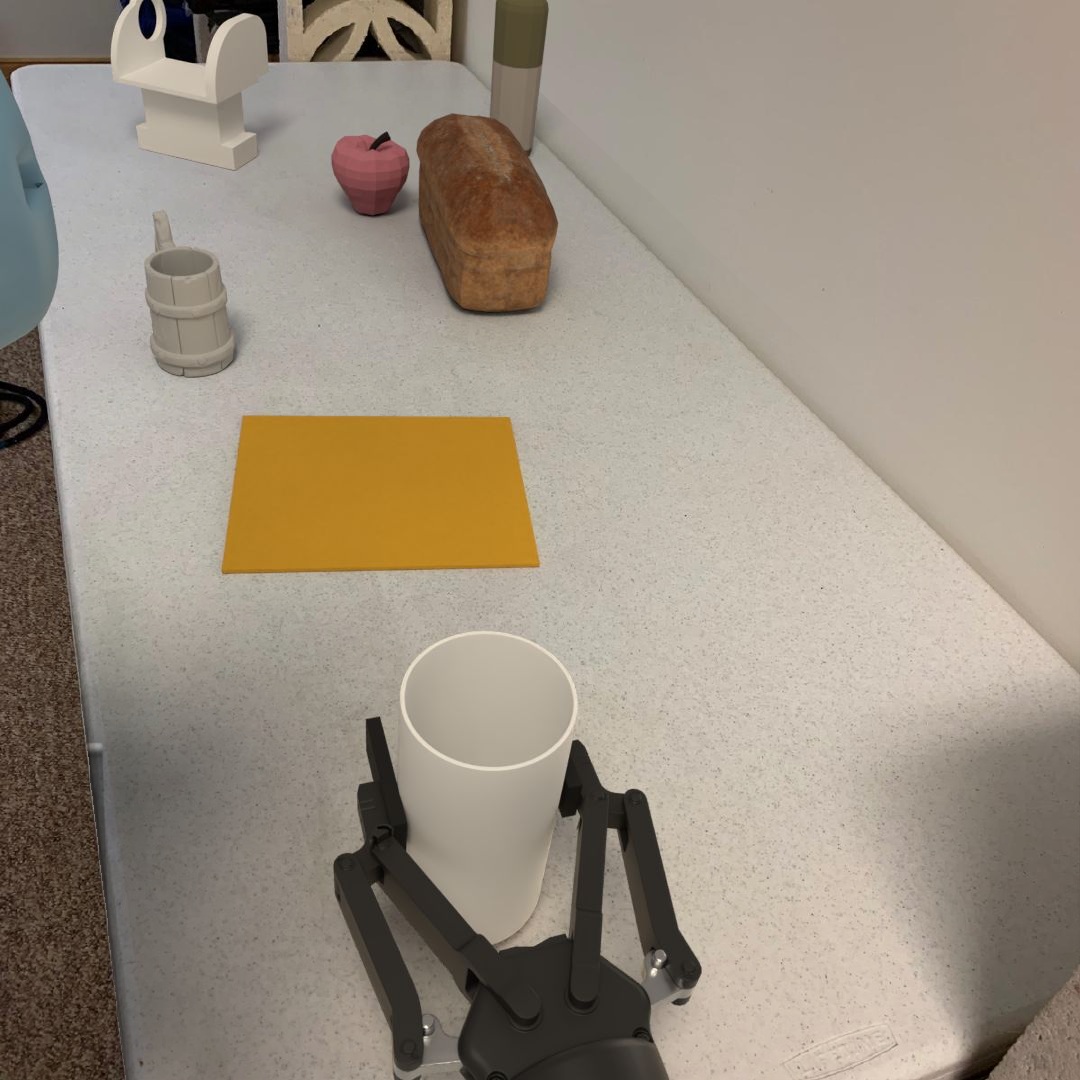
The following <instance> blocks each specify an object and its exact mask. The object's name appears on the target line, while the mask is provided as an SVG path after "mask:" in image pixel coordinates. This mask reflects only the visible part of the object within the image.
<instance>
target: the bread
mask: <svg viewBox="0 0 1080 1080" xmlns="http://www.w3.org/2000/svg"><path fill="white" fill-rule="evenodd" d="M415 151H416V155H417V158H418V160H419V169H418V217H419V220H420V224H421V225H422V227H423V230H424V232H425V235H426V237H427V240H428V243H429V246H430V249H431V251H432V254H433V256H434V258H435V261H436V262H437V264H438V266H439V269H440V273H441V275H442V279H443V282H444V285H445V288H446V290H447V291H448V293H449V295H450V296H451V298H452V299H453V300H454V301H455V302H456V303H457V304H458V305H459V306H460V307H461V308H462V309H463V310H464V309H465V310H470V311H478V312H497V313H498V312H515V311H522V310H528V309H534V308H536V307H538V306H539V305H540V304H542V303H543V301H544V300H545V299H546V295H547V291H548V287H549V286H548V285H549V277H550V273H551V265H552V252H553V251H552V250H553V248H554V245H555V242H556V238H557V234H558V227H559V221H558V217H557V214H556V209H555V208H554V206H553V203H552V201H551V198H550V197H549V195H548V192H547V189H546V186H545V184H544V183H543V180H542V179H541V176H540V175H539V173H538V172H537V170H536V168H535V166H534V164H533V162H532V161H531V159H530V157H529V154H528V155H527V154H526V152H525V151H524V149H523V147H522V146H521V144H520V142H519V141H518V140H517V139H516V137H515V136H514V134H513V133H512V132H511V130H510V129H509V128H508V127H507V126H505V125H504V124H502V123H501V122H499V121H498V120H497V119H494V118H490V116H483V115H468V114H467V115H466V114H460V113H452V112H451V113H449V114H446V115H444V116H441V117H438V118H436V119H433V121H431V122H429V123H428V124H427V125H426V126H425V127H424V128H422V130H421V131H420V134H419V135H418V138H417V140H416V148H415Z"/></svg>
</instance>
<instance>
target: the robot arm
mask: <svg viewBox="0 0 1080 1080" xmlns="http://www.w3.org/2000/svg"><path fill="white" fill-rule="evenodd" d="M35 152H36V151H35V149H34V145H33V141H32V138H31V134H30V131H29V129H28V127H27V124H26V121H25V119H24V116H23V114H22V111H21V109H20V106H19V105H18V101H17V99H16V98H15V96H14V94H13V91H12V89H11V87H10V85H9V83H8V81H7V79H6V77H5V75H4V73H3V71H2V69H1V68H0V350H3V349H4V348H6V347H7V346H9V345H11V344H12V343H14V342H16V341H18V340H19V339H21V338H23V337H25V336H27V334H29V333H30V332H32V331H33V330H34V329H35V328H36V327H38V325H39V324H40V323H41V322H42V321H43V320H44V319H45V317H46V315H47V314H48V311H49V310H50V307H51V304H52V302H53V299H54V297H55V293H56V290H57V287H58V280H59V279H58V278H59V271H60V270H59V269H60V255H59V254H60V252H59V239H58V230H57V224H56V219H55V218H56V217H55V213H54V212H55V211H54V207H53V202H52V198H51V194H50V190H49V186H48V183H47V181H46V179H45V176H44V174H43V172H42V169H41V167H40V164H39V162H38V159H37V155H36V153H35ZM365 752H366V756H367V760H368V766H369V770H370V773H371V777H372V781H369V782H364V783H363V782H362V783H359V784H358V788H357V792H356V808H357V809H356V810H357V814H358V819H359V824H360V827H361V832H362V837H363V842H364V843H363V845H362V846H361V847H360V848H359V849H358V850H355V851H354V852H352V853H351V852H345V853H341V854H339V855H337V857H336V858H335V859H334V860H333V865H332V869H333V887H334V888H333V890H334V896H335V899H336V902H337V905H338V907H339V910H340V912H341V914H342V916H343V919H344V921H345V923H346V926H347V928H348V931H349V933H350V936H351V938H352V940H353V944H354V945H355V947H356V950H357V953H358V955H359V958H360V959H361V963H362V965H363V968H364V969H365V971H366V974H367V976H368V977H367V978H368V980H369V982H370V984H371V986H372V990H373V992H374V994H375V996H376V999H377V1001H378V1003H379V1005H380V1009H381V1010H382V1013H383V1015H384V1018H385V1021H386V1024H387V1025H388V1028H389V1031H390V1033H391V1057H392V1076H393V1080H421V1078H422V1076H426V1075H434V1074H442V1073H451V1072H459V1073H460V1075H461V1076H462V1078H464V1080H671V1079H670V1077H669V1074H668V1071H667V1069H666V1065H665V1064H664V1061H663V1058H662V1056H661V1053H660V1051H659V1048H658V1046H657V1044H656V1042H655V1039H654V1037H653V1034H652V1029H651V1016H652V1012H655V1011H656V1010H659V1009H661V1008H663V1007H664V1006H666V1005H668V1004H672V1005H674V1006H678V1007H681V1006H685V1005H686V1004H687V1003H688V1002H689V1001H690V999H691V997H692V994H693V993H694V991H695V989H696V987H697V985H698V982H699V981H700V978H701V975H702V973H703V967H702V965H701V962H700V961H699V959H698V957H697V955H696V954H695V952H694V951H693V950H692V948H691V946H690V944H689V943H688V941H687V940H686V938H685V937H684V935H683V933H682V932H681V930H680V928H679V923H678V920H677V916H676V911H675V908H674V905H673V900H672V896H671V891H670V888H669V883H668V879H667V875H666V871H665V867H664V863H663V858H662V854H661V851H660V846H659V842H658V838H657V834H656V829H655V826H654V821H653V817H652V814H651V809H650V805H649V801H648V798H647V795H646V794H645V792H643V791H642V790H641V789H639V788H629V789H627V790H626V791H625V792H624V793H623V792H614V791H610V790H608V789H607V788H606V787H604V786H603V785H602V783H601V780H600V779H599V776H598V774H597V772H596V769H595V767H594V765H593V762H592V760H591V757H590V755H589V752H588V750H587V748H586V746H585V745H584V744H583V743H582V742H581V740H580V739H578V738H577V739H573V740H572V745H571V750H570V754H569V759H568V764H567V768H566V773H565V778H564V783H563V787H562V792H561V797H560V801H559V806H558V812H559V814H560V817H561V819H566V818H569V817H574V816H576V815H577V813H578V815H579V819H578V824H577V827H576V829H577V838H576V847H575V848H576V849H575V859H574V872H573V881H572V882H573V883H572V893H571V895H572V896H571V903H570V915H569V926H568V935H567V933H566V932H564V933H561V934H557V935H554V936H550V937H547V938H546V939H544V940H542V941H541V942H539V943H538V944H535V945H533V946H532V945H531V946H530V945H529V946H521V945H519V946H518V945H517V946H513V947H508V948H505V949H501V950H497V949H496V948H495V946H494V945H492V944H491V943H490V942H489V941H488V940H487V939H486V938H485V937H484V936H483V935H482V934H477V933H476V932H475V931H474V930H473V929H472V928H471V926H470V925H469V924H468V923H467V922H466V921H465V919H464V918H463V917H462V916H461V915H460V914H459V912H458V911H457V910H456V909H455V908H454V907H453V905H452V904H451V903H450V902H449V901H448V900H447V898H446V897H445V896H444V895H443V894H442V893H441V891H440V890H439V889H438V888H437V887H436V886H435V884H434V883H433V882H432V881H431V880H430V879H429V877H428V876H427V875H426V874H425V873H424V872H423V870H422V869H421V868H420V867H419V866H418V865H417V863H416V862H415V861H414V860H413V859H412V858H411V856H410V855H409V854H408V853H407V852H406V844H407V820H406V816H405V812H404V808H403V804H402V800H401V797H400V794H399V789H398V785H397V777H396V773H395V769H394V766H393V762H392V758H391V754H390V750H389V746H388V742H387V738H386V734H385V730H384V726H383V723H382V718H381V716H374V717H369V718H365ZM608 829H610V830H616V833H617V837H618V842H619V847H620V851H621V856H622V861H623V866H624V870H625V876H626V880H627V885H628V889H629V890H628V891H629V895H630V899H631V904H632V909H633V914H634V918H635V922H636V923H635V924H636V927H637V932H638V937H639V941H640V946H641V951H642V953H643V957H644V958H643V961H642V964H641V967H640V974H641V978H642V982H641V983H640V982H638V981H637V980H636V979H634V978H633V977H631V976H630V975H628V974H627V973H626V972H624V970H622V969H620V968H619V967H618V966H617V965H616V964H614V963H612V962H611V961H610V960H609V959H607V958H606V957H604V956H603V955H601V951H602V949H601V948H602V937H603V935H602V934H603V921H604V918H603V917H604V915H603V900H604V885H605V884H604V883H605V869H606V868H605V867H606V855H607V854H606V853H607V840H608V839H607V838H608ZM375 884H376V885H378V887H379V888H380V889H381V891H382V892H383V893H384V894H385V895H386V897H387V898H388V899H389V901H391V902H392V904H393V905H394V906H395V907H396V909H397V910H398V912H400V914H401V915H402V916H403V918H405V920H406V921H407V922H408V924H410V926H411V927H412V929H414V931H415V932H416V934H418V936H419V937H420V938H421V940H422V941H423V942H424V943H425V944H426V945H427V947H428V948H429V949H430V950H431V952H432V953H433V954H434V955H435V956H436V957H437V959H438V960H439V961H440V963H441V964H442V965H443V966H444V967H445V969H446V970H447V972H449V974H450V975H451V976H452V978H453V981H454V984H455V986H456V987H457V989H458V990H459V992H461V994H462V995H463V997H464V998H465V999H466V1000H467V1002H468V1003H469V1004H470V1006H469V1009H468V1011H467V1013H466V1014H467V1015H466V1017H465V1019H464V1022H463V1025H462V1027H461V1031H460V1033H459V1036H451V1035H449V1034H447V1033H446V1032H445V1030H444V1029H443V1027H442V1023H441V1022H440V1020H439V1019H438V1017H436V1016H435V1015H434V1014H432V1013H422V1005H421V1002H420V997H419V993H418V991H417V988H416V985H415V983H414V980H413V978H412V976H411V974H410V971H409V969H408V966H407V965H406V963H405V960H404V958H403V956H402V953H401V951H400V949H399V947H398V944H397V942H396V940H395V938H394V935H393V933H392V930H391V928H390V926H389V924H388V922H387V920H386V917H385V916H384V913H383V910H382V908H381V906H380V904H379V901H378V899H377V896H376V894H375V893H374V890H373V888H372V886H373V885H375Z"/></svg>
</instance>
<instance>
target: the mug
mask: <svg viewBox="0 0 1080 1080" xmlns="http://www.w3.org/2000/svg"><path fill="white" fill-rule="evenodd" d="M152 219H153V224H154V232H155V233H154V252H153V253H151V254H149V256H148V257H146V259H144V264H143V265H144V273H145V281H146V282H145V283H146V287H145V291H144V297H145V302H146V305H147V307H148V308H149V313H150V320H151V330H152V333H151V335H150V339H149V344H150V350H151V352H152V353H151V354H153V356H154V357H155V359H156V362H157V363H158V364H159V367H160V368H161V369H162V370H164V371H165V372H167V373H169V374H172V375H176V376H178V377H181V376H184V377H186V378H201V377H205V376H210V375H211V376H212V375H214V374H217V373H219V372H221V371H222V370H225V369H226V368H227V367H228V366H229V364H230V363H231V362H233V360H234V356H235V355H234V351H235V350H236V344H237V343H236V336H235V332H234V331H233V330H232V328H231V327H230V321H229V315H228V310H227V303H228V292H227V287H226V285H225V284H224V283H223V278H222V272H221V267H220V261H219V260H218V257H217V256H216V255H215V254H214V253H212V252H211V251H209V250H206V249H204V248H201V247H196V246H194V247H191V246H186V245H178V246H176V245H175V243H174V240H173V235H172V229H171V225H170V220H169V217H168V213H167V212H166V211H165V210H164V209H163V210H159V211H158V210H157V211H154V212H152Z"/></svg>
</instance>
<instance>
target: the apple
mask: <svg viewBox="0 0 1080 1080" xmlns="http://www.w3.org/2000/svg"><path fill="white" fill-rule="evenodd" d="M410 162H411V161H410V157H409V154H408V151H407V149H406V147H405V148H404V147H403V146H401V145H400V144H398V143H396V142H395V141H394V140H392V137H391V136H390V134H389V131H388V130H387V131H385V132H383V133H381V134H380V135H379V136H378V137H373V136H371V135H368V134H361V135H344V136H343V137H341V138H340V139H338V140H337V141H336V143H335V146H334V147H333V151H332V153H331V162H330V163H331V169H332V172H333V176H334V178H335V179H336V181H337V182H338V184H339V186H340V187H341V189H342V191H343V192H344V194H345V195H346V196H347V198H348V200H349V201H350V203H351V205H352V206H353V208H354V209H355V210H356V211H357V212H358V214H359V213H360V214H363V215H369V216H375V215H377V214H379V215H380V214H385V213H387V212H389V211H390V209H392V206H393V204H394V203H395V201H396V199H397V196H398V195H399V193H400V192H401V190H402V189H403V187H404V185H406V183H407V180H408V176H409V172H410V167H411V166H410V165H411V163H410Z"/></svg>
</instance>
